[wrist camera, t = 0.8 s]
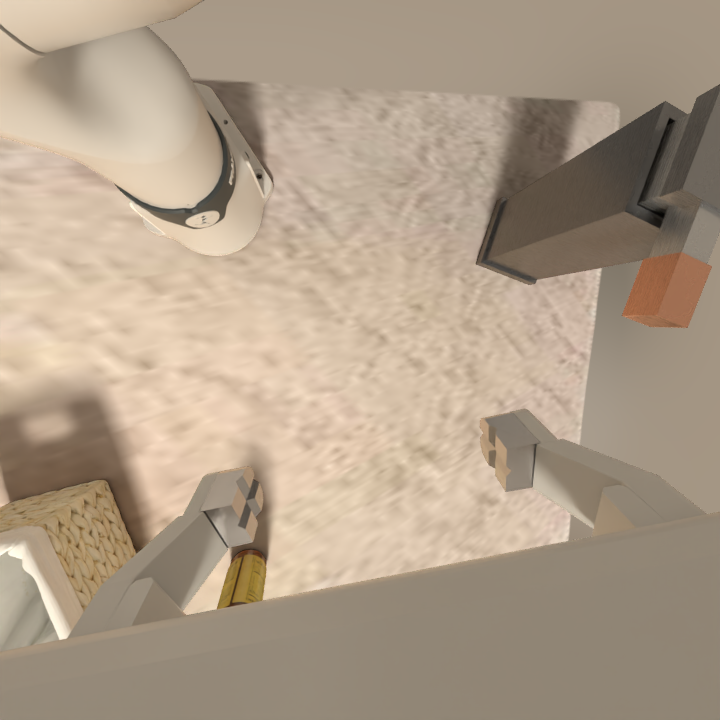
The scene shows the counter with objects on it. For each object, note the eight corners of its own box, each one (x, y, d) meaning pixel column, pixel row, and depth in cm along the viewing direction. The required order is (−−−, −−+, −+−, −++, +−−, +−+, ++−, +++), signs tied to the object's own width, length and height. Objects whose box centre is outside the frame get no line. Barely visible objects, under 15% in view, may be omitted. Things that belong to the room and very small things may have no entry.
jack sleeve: (497, 200, 50) (663, 92, 26) (550, 224, 52) (747, 144, 28) (475, 264, 51) (618, 214, 27) (529, 284, 53) (703, 255, 29)
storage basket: (160, 596, 49) (98, 710, 35) (54, 629, 47) (-59, 764, 33) (114, 467, 46) (22, 535, 31) (-4, 496, 43) (-162, 583, 29)
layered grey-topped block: (517, 201, 46) (723, 82, 23) (560, 221, 48) (793, 128, 25) (479, 313, 48) (637, 306, 24) (522, 328, 49) (709, 335, 26)
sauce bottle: (234, 583, 51) (186, 744, 32) (227, 551, 50) (173, 697, 31) (272, 573, 52) (249, 724, 33) (266, 542, 51) (238, 679, 32)
